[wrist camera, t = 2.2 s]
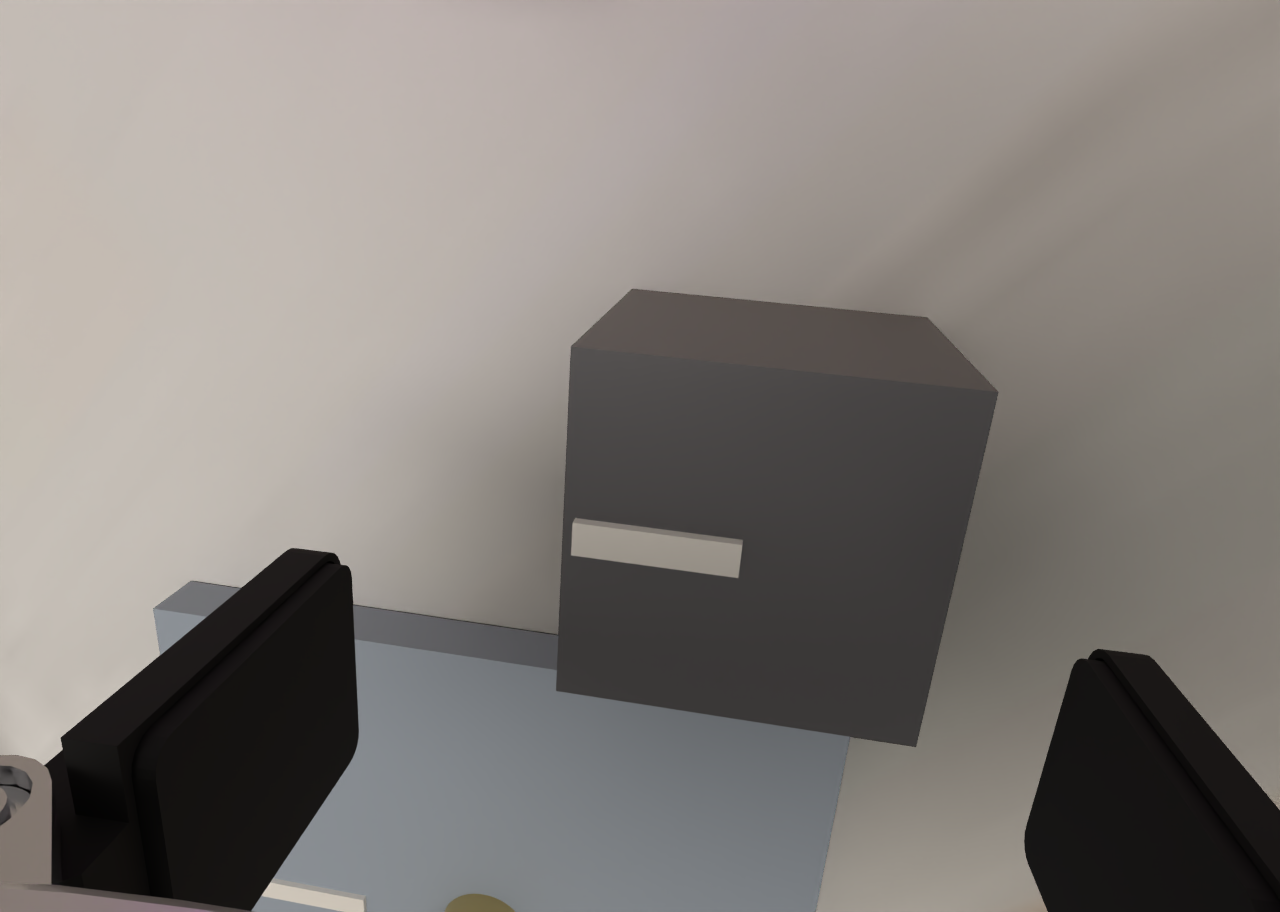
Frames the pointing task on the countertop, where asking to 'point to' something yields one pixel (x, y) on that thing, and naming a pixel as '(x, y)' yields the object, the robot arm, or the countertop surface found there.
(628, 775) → the hub panel
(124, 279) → the countertop surface
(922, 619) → the dark gray cube
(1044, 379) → the countertop surface
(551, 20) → the countertop surface
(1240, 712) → the countertop surface
